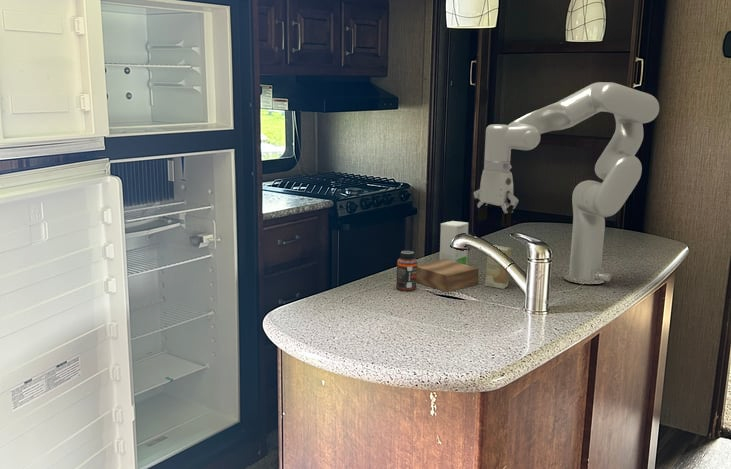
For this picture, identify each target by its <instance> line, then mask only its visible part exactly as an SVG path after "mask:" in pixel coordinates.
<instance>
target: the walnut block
mask: <svg viewBox="0 0 731 469" xmlns="http://www.w3.org/2000/svg"><path fill="white" fill-rule="evenodd" d="M416 284H420V285H423V286H426V287H429V288H432V289H436V290H438V291H441V292H445V293H448V292H453V291H456V290H460V289H465V288H467V287H471V286H476V285H479V267H475V266H472V265H468V264H467V265H465V264H461V263H458V262H454V261H450V260H447V259H444V260H440V259H439V260H435V261H430V262H427V263H423V264H417V276H416Z"/></svg>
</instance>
